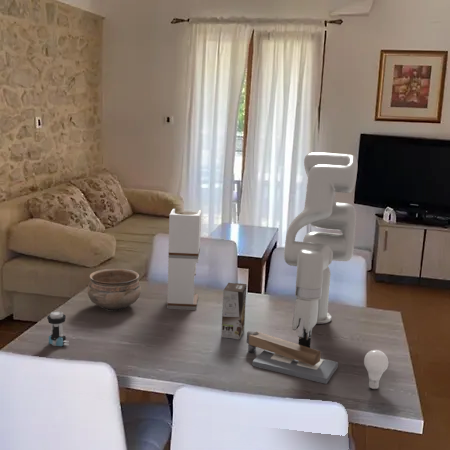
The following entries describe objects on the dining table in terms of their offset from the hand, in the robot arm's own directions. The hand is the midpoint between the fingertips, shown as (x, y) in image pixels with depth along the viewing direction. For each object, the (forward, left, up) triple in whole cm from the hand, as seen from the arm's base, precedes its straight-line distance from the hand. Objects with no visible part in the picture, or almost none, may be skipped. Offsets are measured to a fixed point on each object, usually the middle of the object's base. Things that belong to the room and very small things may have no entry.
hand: (304, 350), depth 170 cm
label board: (+4, -1, -4) cm, 6 cm away
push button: (+27, -69, -4) cm, 74 cm away
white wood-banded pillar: (-25, -55, -4) cm, 61 cm away
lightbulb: (+6, +22, -4) cm, 23 cm away
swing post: (+1, -16, -4) cm, 17 cm away
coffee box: (-9, -27, -4) cm, 29 cm away
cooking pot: (-8, -74, -4) cm, 75 cm away
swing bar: (+3, -6, -1) cm, 7 cm away
